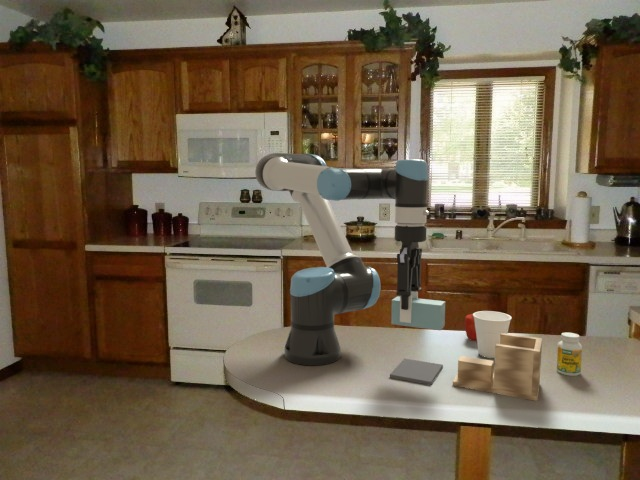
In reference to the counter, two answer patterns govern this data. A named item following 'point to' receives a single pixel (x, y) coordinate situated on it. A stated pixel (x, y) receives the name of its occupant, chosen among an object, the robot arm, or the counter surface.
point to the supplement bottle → (569, 355)
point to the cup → (490, 330)
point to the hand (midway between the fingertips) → (408, 319)
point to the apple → (470, 327)
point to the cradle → (505, 368)
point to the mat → (416, 371)
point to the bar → (421, 313)
